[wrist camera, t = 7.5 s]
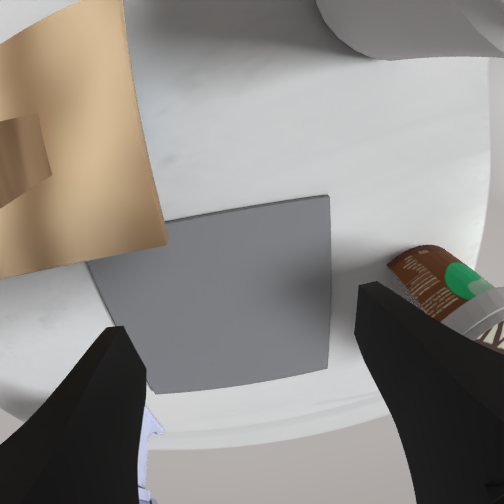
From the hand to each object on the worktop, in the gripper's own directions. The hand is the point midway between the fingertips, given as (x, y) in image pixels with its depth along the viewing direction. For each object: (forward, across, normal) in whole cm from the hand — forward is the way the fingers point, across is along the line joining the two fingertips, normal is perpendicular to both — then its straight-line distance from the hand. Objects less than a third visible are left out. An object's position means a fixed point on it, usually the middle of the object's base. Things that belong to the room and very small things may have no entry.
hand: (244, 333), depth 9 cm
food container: (+11, -16, +8) cm, 21 cm away
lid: (+6, +9, -7) cm, 13 cm away
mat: (+10, +2, +8) cm, 13 cm away
